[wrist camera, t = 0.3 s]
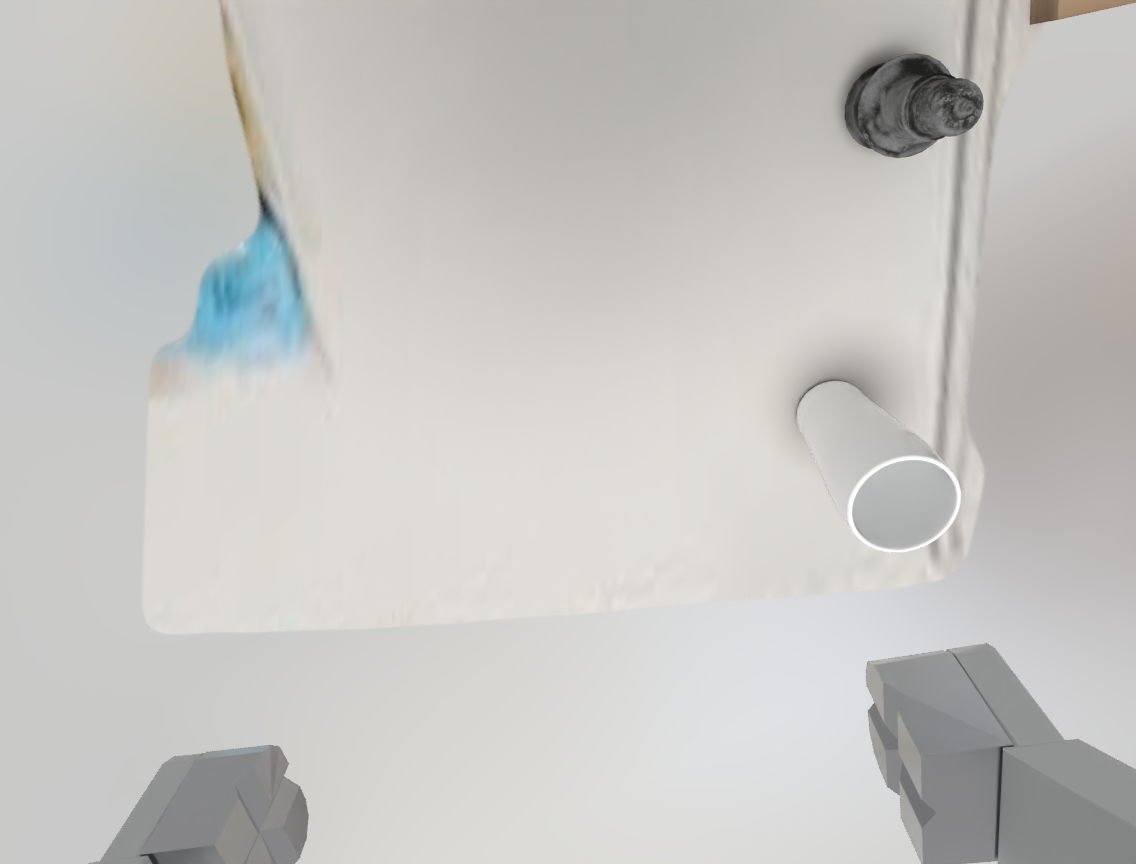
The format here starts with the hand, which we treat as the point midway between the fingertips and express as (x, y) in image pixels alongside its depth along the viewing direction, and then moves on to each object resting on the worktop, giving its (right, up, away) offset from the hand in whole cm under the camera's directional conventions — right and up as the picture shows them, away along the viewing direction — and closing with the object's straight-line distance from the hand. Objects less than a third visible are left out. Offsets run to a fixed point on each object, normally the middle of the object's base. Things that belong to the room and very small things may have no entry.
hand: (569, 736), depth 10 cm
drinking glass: (+20, +6, +48) cm, 52 cm away
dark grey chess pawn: (+21, +26, +39) cm, 51 cm away
